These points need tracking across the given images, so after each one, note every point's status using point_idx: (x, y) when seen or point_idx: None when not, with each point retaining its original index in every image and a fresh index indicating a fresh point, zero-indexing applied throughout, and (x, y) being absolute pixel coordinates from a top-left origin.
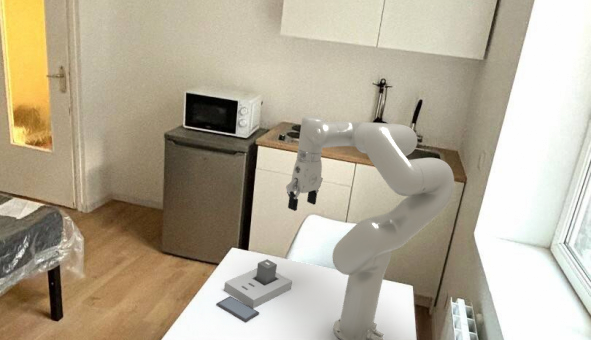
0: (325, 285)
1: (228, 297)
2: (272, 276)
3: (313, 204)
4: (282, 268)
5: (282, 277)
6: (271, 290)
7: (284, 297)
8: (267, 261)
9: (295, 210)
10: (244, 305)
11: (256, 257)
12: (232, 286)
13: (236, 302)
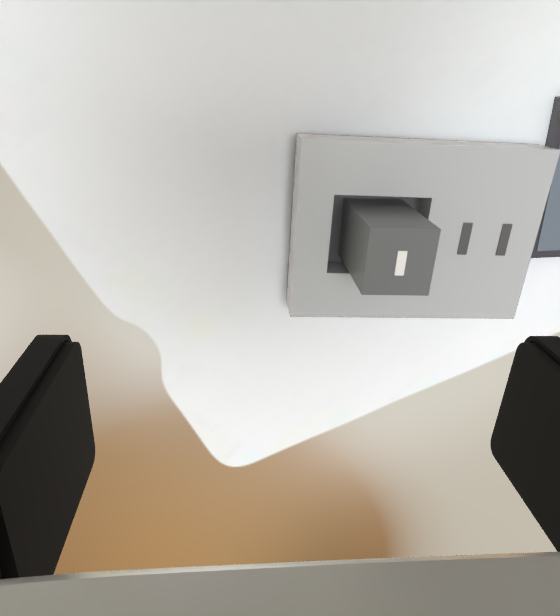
0: (121, 31)
1: (541, 254)
2: (377, 211)
3: (72, 347)
4: (182, 277)
5: (311, 192)
6: (444, 149)
7: (372, 109)
8: (381, 277)
9: (556, 337)
10: (555, 174)
11: (206, 396)
12: (523, 279)
13: (555, 210)
